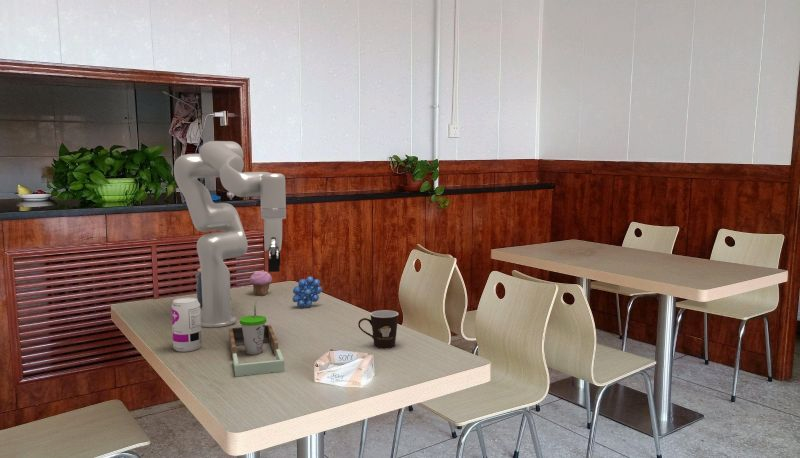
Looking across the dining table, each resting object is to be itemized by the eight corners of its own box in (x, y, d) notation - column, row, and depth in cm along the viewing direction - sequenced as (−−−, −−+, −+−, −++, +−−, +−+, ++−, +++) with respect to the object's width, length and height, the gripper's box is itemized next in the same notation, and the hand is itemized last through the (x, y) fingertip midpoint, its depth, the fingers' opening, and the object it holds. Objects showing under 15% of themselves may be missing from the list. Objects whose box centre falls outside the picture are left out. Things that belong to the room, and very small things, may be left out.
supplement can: (175, 354, 185) (173, 304, 183) (171, 346, 192) (169, 298, 190) (203, 350, 189) (201, 301, 187) (199, 342, 196) (196, 295, 194)
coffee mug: (402, 342, 195) (402, 311, 194) (393, 351, 187) (392, 318, 186) (367, 339, 199) (367, 308, 198) (357, 347, 191) (356, 315, 190)
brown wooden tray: (229, 340, 198) (228, 328, 198) (271, 336, 202) (270, 324, 201) (232, 360, 179) (232, 347, 179) (278, 356, 183) (278, 342, 183)
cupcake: (247, 296, 258) (246, 272, 257) (255, 291, 267) (254, 268, 266) (267, 297, 257) (267, 273, 256) (275, 292, 265) (274, 269, 264)
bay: (233, 363, 176) (232, 353, 176) (279, 359, 180) (279, 349, 180) (235, 376, 166) (234, 365, 166) (284, 371, 170) (284, 360, 170)
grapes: (318, 303, 246) (318, 273, 245) (324, 307, 240) (323, 276, 239) (289, 306, 241) (289, 275, 240) (294, 310, 235) (293, 279, 234)
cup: (254, 358, 181) (252, 307, 179) (234, 353, 185) (233, 304, 183) (273, 351, 188) (271, 302, 186) (254, 346, 192) (252, 299, 190)
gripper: (262, 211, 200) (264, 263, 202) (259, 217, 183) (260, 274, 185) (286, 210, 201) (287, 263, 203) (285, 216, 184) (286, 273, 186)
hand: (274, 268), depth 194 cm, fingers open, 9 cm apart
